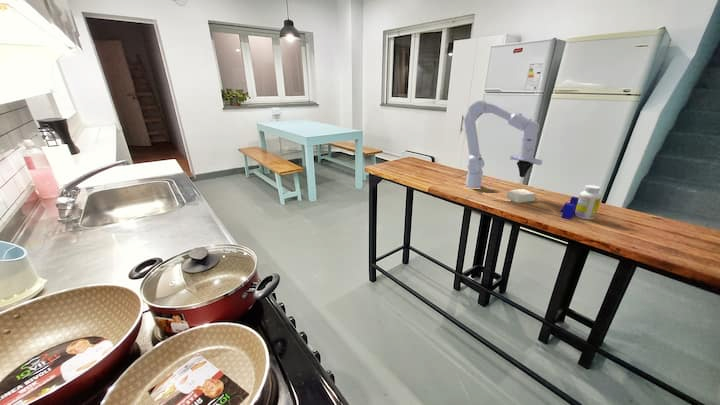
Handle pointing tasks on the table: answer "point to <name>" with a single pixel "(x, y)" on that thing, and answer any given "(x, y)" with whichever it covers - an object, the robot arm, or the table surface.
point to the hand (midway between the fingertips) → (522, 176)
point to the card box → (521, 195)
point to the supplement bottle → (588, 202)
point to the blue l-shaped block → (569, 208)
